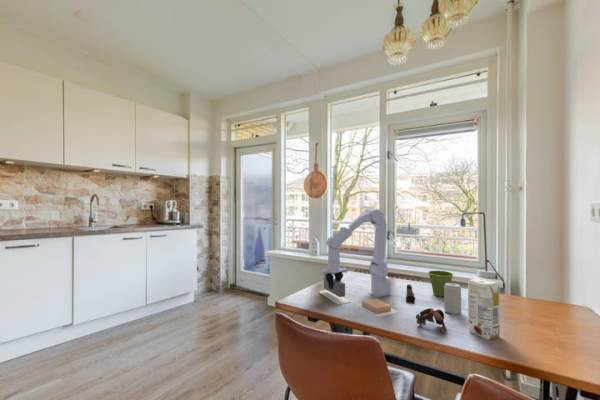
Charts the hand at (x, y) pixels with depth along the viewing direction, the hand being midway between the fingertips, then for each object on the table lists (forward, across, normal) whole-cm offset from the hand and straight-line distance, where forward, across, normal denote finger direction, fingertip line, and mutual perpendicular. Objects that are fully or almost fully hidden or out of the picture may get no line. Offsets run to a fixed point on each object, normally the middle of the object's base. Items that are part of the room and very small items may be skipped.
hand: (333, 288), depth 139 cm
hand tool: (+5, -35, +13) cm, 38 cm away
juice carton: (+5, -30, +55) cm, 63 cm away
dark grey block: (+2, 0, 0) cm, 2 cm away
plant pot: (+5, -53, +17) cm, 56 cm away
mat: (+5, -10, +20) cm, 23 cm away
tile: (+3, -10, +15) cm, 18 cm away
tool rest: (+5, 0, 0) cm, 5 cm away
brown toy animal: (+5, -18, +44) cm, 48 cm away
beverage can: (+5, -38, +36) cm, 53 cm away
